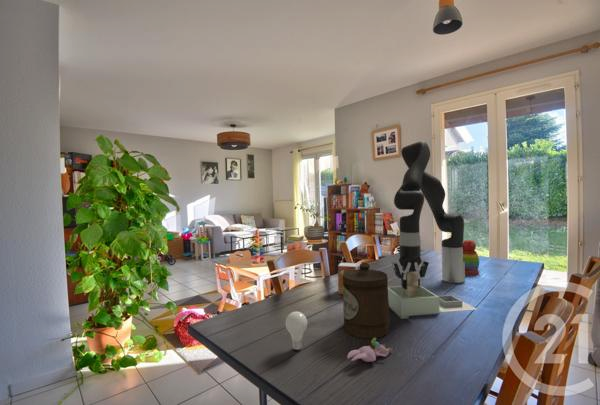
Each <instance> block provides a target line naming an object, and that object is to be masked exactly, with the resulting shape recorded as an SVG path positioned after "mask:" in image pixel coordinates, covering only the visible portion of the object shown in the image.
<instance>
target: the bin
mask: <svg viewBox="0 0 600 405" xmlns="http://www.w3.org/2000/svg"><path fill="white" fill-rule="evenodd" d="M438 296H439V295H437V294H435V293H434V292H432V291H431V290H428V289H427V288H426V287H423V286H422V285H421V284H420V287H419V288H418V297H417V298H406V297H405V296H404V295H403V287H402V286H401V285H397V286H394V285H392V286H388V301H389V309H391V310H392V312H394V313H395V315H396V316H398V317H399V318H400V320H404V319H411V317H412V316H423V315H425V316H426V315H437V314H440V311H439V297H438Z"/></svg>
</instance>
